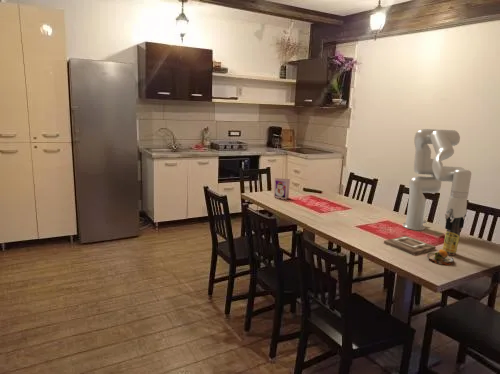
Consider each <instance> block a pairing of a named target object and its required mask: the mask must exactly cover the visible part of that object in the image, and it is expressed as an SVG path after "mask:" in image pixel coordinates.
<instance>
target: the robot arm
mask: <svg viewBox="0 0 500 374" xmlns="http://www.w3.org/2000/svg"><path fill="white" fill-rule="evenodd" d="M414 134H415V135H414V138H413V140H414V148H415V154H414V161H413V172H414V173H415V174H417V175H421V176H417V175H416V176H413V177H411V179H409V185H408V186H409V188H408V189H409V190H408V191H409V194H408V203H407V204H408V205H407V210H406V211H407V212H406V218H405V222H404V223H402V227H404V229H408V230H413V231H424V230H425V229H426V227H425V226H424V225H425V224H427V220H426V219H424V216H425V209H426V204H427V203H426V202H427V200H426V197H425V195H424V194H429V193H430V194H436V193H438V192H440V190H441V187H442V182H449V183H450V182H451V188H450V196H449V198H448V201H447V205H446V210H445V214H444V216H445V217H444V218H445V226H444V229H446V230H447V229H448V230H452V227H453V222H452V221H453V220H454V218H459V217H461V220H460V223H459V227H460V229H463V228H464V224H465V220H466V217H467V213H468V210H467V206H468V198H469V192H470V186H471V185H470V183H471V180H472V172H471V170H469V169H466V168H463V167H461V166H460V167H459V166H446V165H445V166H444V165H443V161H444V160H448V159H450V158H451V157H452V156H453V155H454V154H455V149H454V147H455V146H457V145H458V144H459V143H460V140H461V136H460V134H459V131H457V130H453V129H436V128H435V129H434V128H433V129H432V128H422V129H419V130H417V131H416V132H415V133H414ZM429 145H432V146H433V150H434V152H435V156H434V157H433V158H432V155H431V154H432V149H431V148H430V146H429ZM422 175H428V176H422Z"/></svg>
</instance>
